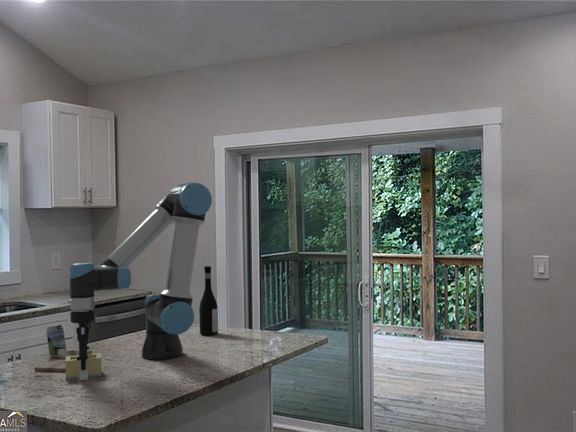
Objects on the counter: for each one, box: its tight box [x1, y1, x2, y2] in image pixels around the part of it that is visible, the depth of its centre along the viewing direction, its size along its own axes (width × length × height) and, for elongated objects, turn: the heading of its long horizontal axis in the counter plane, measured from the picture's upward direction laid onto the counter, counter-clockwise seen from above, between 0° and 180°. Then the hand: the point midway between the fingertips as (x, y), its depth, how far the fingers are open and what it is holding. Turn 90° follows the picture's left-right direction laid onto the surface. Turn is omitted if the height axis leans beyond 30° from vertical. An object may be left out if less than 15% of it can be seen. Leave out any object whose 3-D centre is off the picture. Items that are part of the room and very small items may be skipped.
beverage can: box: [45, 324, 67, 358], centre depth 222 cm, size 6×7×12 cm
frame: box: [65, 352, 103, 380], centre depth 194 cm, size 11×7×6 cm, turn 109°
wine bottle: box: [198, 265, 219, 337], centre depth 259 cm, size 8×8×30 cm
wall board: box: [34, 347, 93, 373], centre depth 207 cm, size 13×15×5 cm
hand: (83, 374), depth 194 cm, fingers open, 12 cm apart
